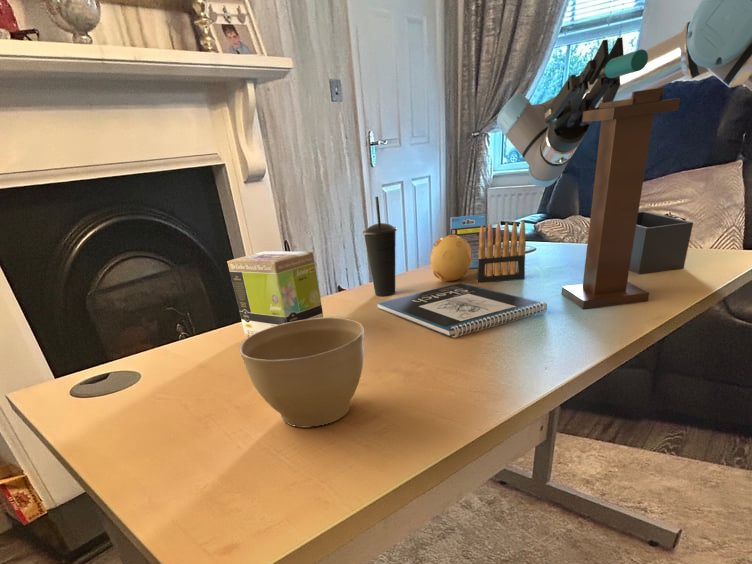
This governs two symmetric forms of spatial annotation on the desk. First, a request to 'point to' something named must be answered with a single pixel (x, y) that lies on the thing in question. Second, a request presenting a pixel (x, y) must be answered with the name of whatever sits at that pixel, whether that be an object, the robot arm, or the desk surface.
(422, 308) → the sketchbook
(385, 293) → the drinking cup
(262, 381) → the planter bowl
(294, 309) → the tea box
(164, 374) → the desk surface
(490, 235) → the ammunition clip
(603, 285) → the headphone stand
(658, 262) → the pen holder
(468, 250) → the stress ball
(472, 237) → the label tape box
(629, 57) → the marker
